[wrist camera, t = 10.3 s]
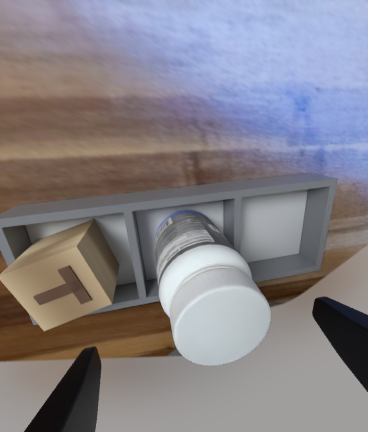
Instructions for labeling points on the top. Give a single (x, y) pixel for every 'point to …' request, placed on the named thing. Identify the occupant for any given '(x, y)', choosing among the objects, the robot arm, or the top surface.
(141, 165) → the top surface
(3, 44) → the top surface
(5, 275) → the letter cube
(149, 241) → the bay dish
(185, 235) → the pill bottle
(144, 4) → the top surface
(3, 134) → the top surface
